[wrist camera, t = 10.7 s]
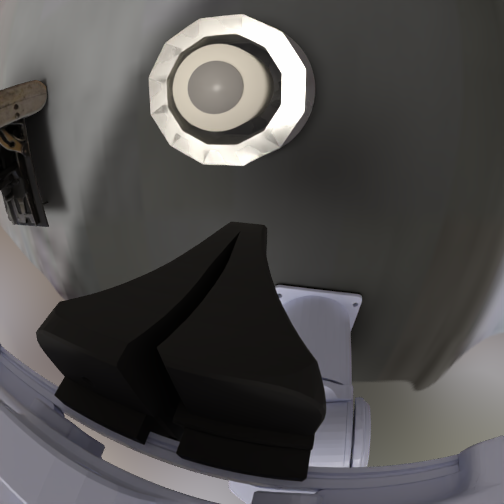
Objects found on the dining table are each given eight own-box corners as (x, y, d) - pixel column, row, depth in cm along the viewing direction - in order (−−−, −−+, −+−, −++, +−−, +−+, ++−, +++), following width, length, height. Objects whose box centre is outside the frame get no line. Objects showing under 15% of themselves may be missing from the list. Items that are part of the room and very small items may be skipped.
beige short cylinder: (273, 123, 17) (262, 133, 13) (201, 122, 17) (173, 133, 14) (274, 51, 14) (262, 40, 10) (199, 55, 15) (169, 49, 11)
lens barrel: (311, 161, 18) (310, 180, 15) (176, 155, 20) (149, 172, 16) (316, 23, 12) (316, 6, 9) (171, 31, 14) (140, 24, 11)
